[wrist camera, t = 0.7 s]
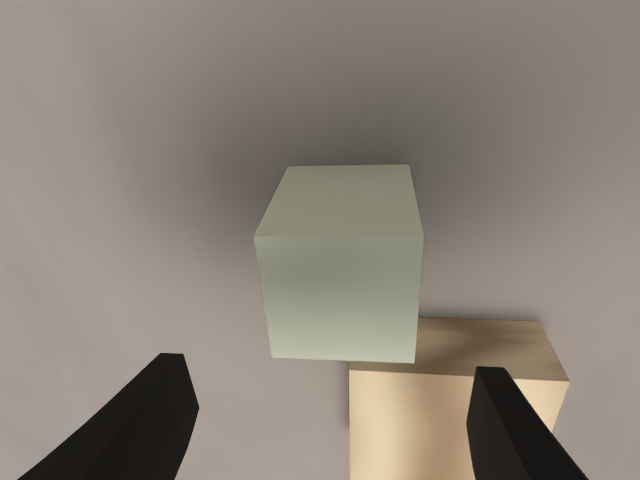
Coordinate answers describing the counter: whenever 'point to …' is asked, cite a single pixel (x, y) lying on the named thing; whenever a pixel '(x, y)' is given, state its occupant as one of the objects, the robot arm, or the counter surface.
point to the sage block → (342, 263)
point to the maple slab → (443, 396)
